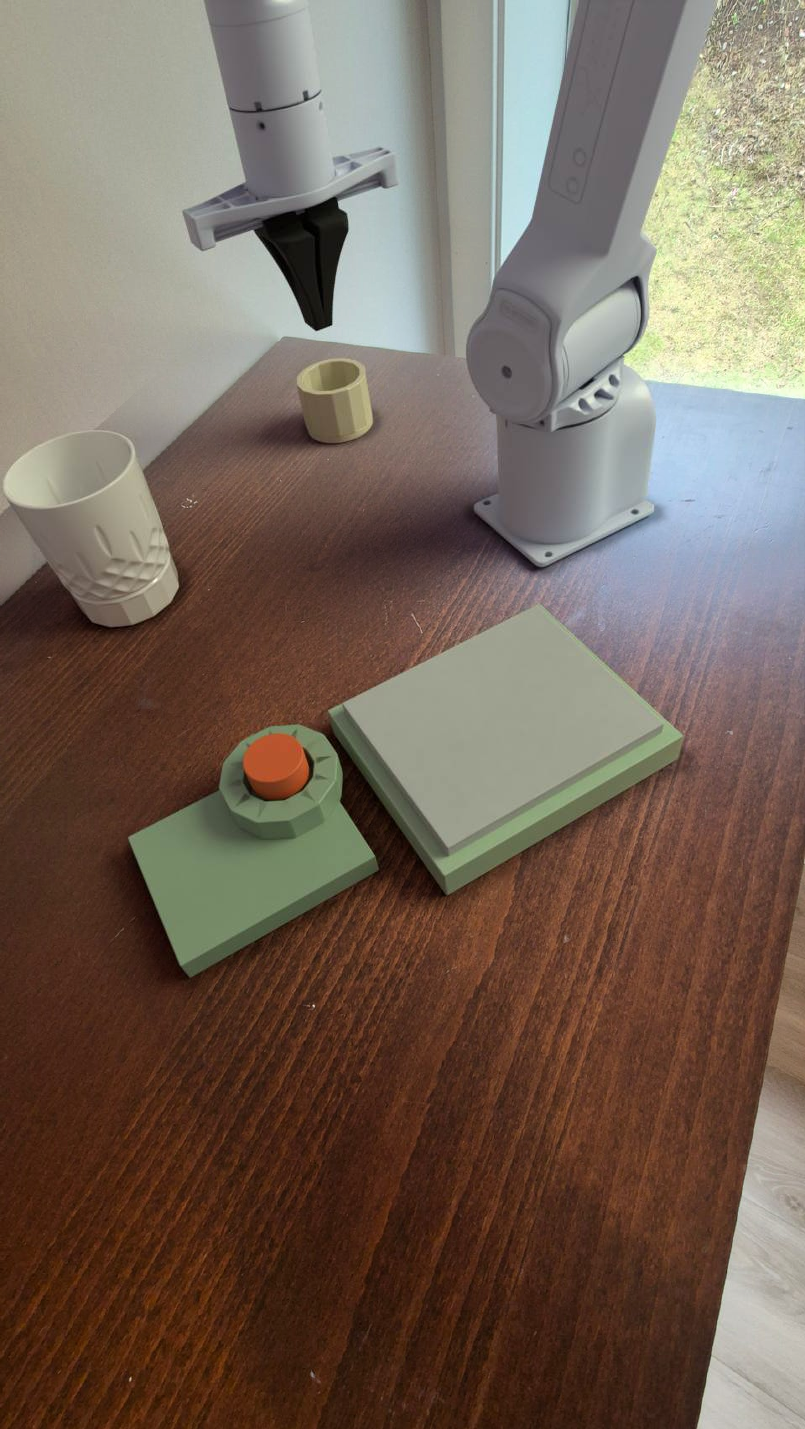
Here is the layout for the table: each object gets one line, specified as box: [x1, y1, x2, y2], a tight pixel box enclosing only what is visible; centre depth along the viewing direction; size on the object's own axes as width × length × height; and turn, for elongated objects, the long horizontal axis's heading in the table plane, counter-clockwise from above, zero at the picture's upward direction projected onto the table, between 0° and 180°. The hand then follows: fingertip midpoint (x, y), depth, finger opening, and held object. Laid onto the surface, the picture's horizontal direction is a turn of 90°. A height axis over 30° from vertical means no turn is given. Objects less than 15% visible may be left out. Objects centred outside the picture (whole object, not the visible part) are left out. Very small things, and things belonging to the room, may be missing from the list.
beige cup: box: [296, 357, 374, 444], centre depth 65 cm, size 5×6×4 cm
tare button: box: [243, 733, 309, 800], centre depth 40 cm, size 3×3×2 cm
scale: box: [327, 603, 684, 896], centre depth 43 cm, size 14×12×3 cm
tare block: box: [127, 724, 380, 978], centre depth 40 cm, size 11×9×3 cm
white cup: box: [1, 429, 180, 628], centre depth 52 cm, size 8×8×10 cm
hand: (318, 323), depth 59 cm, fingers closed
